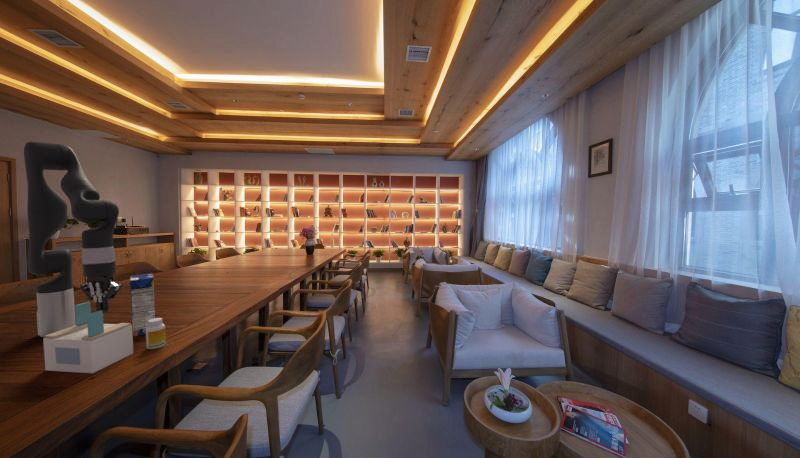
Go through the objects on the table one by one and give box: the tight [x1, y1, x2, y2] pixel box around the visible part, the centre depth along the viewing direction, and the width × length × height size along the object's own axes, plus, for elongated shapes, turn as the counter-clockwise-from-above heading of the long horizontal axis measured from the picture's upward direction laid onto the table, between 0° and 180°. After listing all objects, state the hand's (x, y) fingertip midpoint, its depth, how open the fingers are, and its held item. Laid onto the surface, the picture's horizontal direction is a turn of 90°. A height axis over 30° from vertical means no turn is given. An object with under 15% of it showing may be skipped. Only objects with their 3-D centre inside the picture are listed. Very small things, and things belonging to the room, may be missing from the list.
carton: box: [42, 323, 135, 374], centre depth 92 cm, size 16×12×10 cm
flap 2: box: [82, 310, 132, 340], centre depth 91 cm, size 4×11×8 cm, turn 175°
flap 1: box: [44, 301, 92, 338], centre depth 92 cm, size 4×11×8 cm, turn 175°
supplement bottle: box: [145, 317, 167, 350], centre depth 102 cm, size 5×5×10 cm
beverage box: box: [129, 273, 157, 337], centre depth 116 cm, size 7×11×22 cm, turn 43°
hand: (102, 312), depth 94 cm, fingers closed
